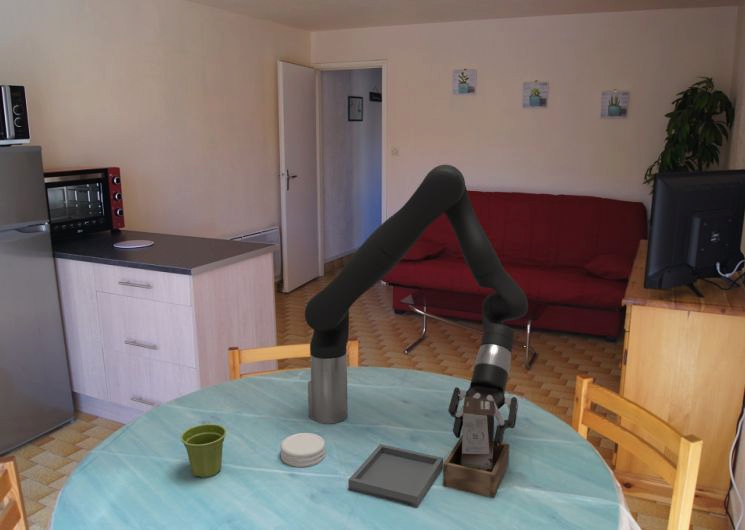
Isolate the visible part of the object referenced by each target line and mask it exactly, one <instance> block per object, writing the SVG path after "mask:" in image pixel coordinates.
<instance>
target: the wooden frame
mask: <svg viewBox="0 0 745 530" xmlns="http://www.w3.org/2000/svg"><path fill="white" fill-rule="evenodd" d="M509 460H510V443H507V442H502V443H501V444H499V446H495V445H494V440H493V461H492V465H493V464H494V467H493V468H492V472H488V471H483V470H479V469H474V468H470V467H465V466H461V465H462V435H460V438H458V439H457V442H456V444H455V445H454V447H453V448H452V450H451V452H450V453H449V454H448V456H447V458H446V459H445V460H444V461H443V468H442V486H443V487H447V488H451V489H454V490H460V491H462V492H463V491H464V492H468V493H472V494H475V495H480V496H484V497H488V498H492V499H495V497H496V494H497V491H498V489H499V487H500V485H501V483H502V480H503V479H504V475H505V473H506V471H507V470H508V467H509V465H510V464H509Z"/></svg>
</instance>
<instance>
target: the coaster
mask: <svg viewBox="0 0 745 530" xmlns="http://www.w3.org/2000/svg"><path fill="white" fill-rule="evenodd" d="M325 441H326V440H325V439H324V438H323V437H321V436H320V435H319V434H317V433H316V434H315V433H311V432H301V433H294V434H291V435H289V436H287V437H285V439H283V440H282V441H281V443H280V457H281V460H282V462H284V463H285V464H286V465H288V466H291V467H296V468H305V467H307V468H308V467H311V466H312V467H313V466H314V465H317V464H319V463H320V462H322V461H323V460H324V459H325V457H326V442H325Z"/></svg>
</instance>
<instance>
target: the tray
mask: <svg viewBox="0 0 745 530" xmlns="http://www.w3.org/2000/svg"><path fill="white" fill-rule="evenodd" d="M443 464H444V457H441V456H437V455H433V454H432V455H431V454H428V453H423V452H417V451H413V450H409V449H404V448H399V447H397V446H391V445H387V444H383V443H379V444H378V445H377V447H376V448H375V449H374V450H373V451H372V453H371V454H369V456H368V457H367V458H366V459H365V460H364V462H363V463H362V464H361V465H360V466H359V467H358V468H357V469H356V470H355V472H354V473H353V474H352V475H351V476H350V477H349V478H348V490H349V491H352V492H355V493H360V494H364V495H368V496H371V497H375V498H379V499H382V500H383V499H384V500H385V501H386V500H387V501H391V502H394V503H399V504H403V505H407V506H410V507H414V508H418V507H419V506H420V504H421V503H422V501H423V500H424V498H425V496H426V495H427V494H428V492H429V490H430V489H431V487H432V486H433V484H434V482H435V481H436V479H437V477H438V476H439V474H440V473H441V471H443Z"/></svg>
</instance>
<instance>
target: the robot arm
mask: <svg viewBox="0 0 745 530" xmlns="http://www.w3.org/2000/svg"><path fill="white" fill-rule="evenodd" d="M443 214H444V215H445V216H446V218H447V220H448V222H449V223H450V225H451V228H452V230H453V232H454V235H455V237H456V239H457V242H458V245H459V248H460V250H461V254H462V255H463V259H464V260H465V262H466V265H467V267H468V269H469V272H471V275H472V277H473V278H474V280H475V282H476V284H477V286H479V287H480V288H483V289H492V290H493V291H494V292H493V293H490V294H488V295H487V296H486V297H485V298H484V300H483V303H482V306H481V312H482V316H481V317H482V328H483V330H482V331H483V333H482V337H481V340H480V341H481V342H480V346H479V350H478V352H477V354H476V359H475V363H474V367H473V371H472V375H471V380H470V384H469V385H470V386H469V388H468V389H467V390H463V389H460V388H459V387H458V386H457V387H454V389H453V391H452V392H453V393H452V395H451V399H450V403H449V405H448V410H447V411H448V413H449V415H450V417H451V418H454V423H453V427H452V433H453V435H454V437H455V438H457V439H460V437H461V435H462V434H461V433H462V428H463V408H464V404H463V405H462V407H461V408H460V409H459V410H458V408H459V405H460V402H461V401H462V400H464V398H465V396H469V397H472V398H478V399H479V398H481V397H486V398H487V400H490V401H494V419H495V420H496V421H497V424H498V425H496V428H495V432H494V433H495V435H494V440H493V441H494V445H495V446H499V444H501V443H503V441H504V435H505V431H506V429H515V427H516V422H517V415H518V409H519V408H518V407H519V402H518V401H519V400H518V399H517V397H515V396H514V397H511V398H510V397H505V393H506V389H507V383H508V380H509V379H508V378H509V374H510V370H511V369H510V368H511V363H512V362H511V358H512V352H513V351H512V350H513V348H514V347H513V346H514V341H515V333H514V330H513V329H512V328H511V327H510V326H508V325H506V324H504V322H506V321H513V320H518V319H520V318H523V317H525V315H526V314H527V312H528V310H529V302H528V298H527V295H526V293H525V292H524V290H523V289H522V287H520V285H519V284H518V283H517V282H516V281H515V280H514V279H513V278H512V276H511V275H510V274H509V273H508V272H507V271H506V270H505V269H504V267H503V265H502V263H501V261H500V259H499V257H498V254H497V252H496V251H495V249H494V247H493V245H492V243H491V241H490V240H489V238H488V236H487V234H486V232H485V230H484V229H483V227H482V225H481V223H480V221H479V219H478V217H477V215H476V211H475V210H474V207H473V205H472V202H471V199H470V196H469V192H468V189H467V186H466V180H465V177H464V175H463V173H462V172H461V171H460V170H459V168H457V167H455V166H453V165H451V164H441V165H437V166H436V167H434V168H433V169H431V170H430V171H429V172H428V173H427V174H426V176H424V179H423V180H422V182H421V183H420V184H419V186H418V187H417V189H416V190H415V191H414V192H413V194H412V195H411V196H410V198H409V199H408V200H407V201H406V202H405V203H404V205H403V206H402V207H401V208H400V209H399V210H398V211H396V212H395V213H394V214H393V215H391V216H390V217H388V218H387V219H386V220H385V221H384V222H383V223H382V224H381V225H379V226H378V227H377V228H376V229H375V230H374V231H373V232H371V234H370V235H369V236H368V238H366V240H365V241H364V242H363V243H362V244H361V245H360V247H359V248H358V249H357V250H356V251H355V252H354V254H353V255H352V256H351V257H350V259H349V260H348V261H347V262H346V263H345V265H344V267H343V268H342V270H341V271H340V272H339V273H338V275H337V276H336V277H334V278H333V280H332V281H331V282H330V283H328V284H327V285H326V286H325V287H324V288H323V289H321V290H320V291H319V292H317V293H316V294H315V295H314V296H312V297H311V298H310V299H309V300H308V302H307V304H306V306H305V310H304V318H305V322H306V325H308V327H309V328H311V329H312V330H313V334H312V337H311V340H310V343H309V357H310V358H309V360H310V380H309V381H308V382H307V399H308V400H307V401H308V408H307V409H308V417H309V418H311V419H313V421H315V422H318V423H321V424H336V423H340V422H343V421H344V420H346V419H347V418H348V416H349V415H348V411H349V409H348V408H349V407H348V361H347V360H348V355H347V354H348V352H347V351H348V350H347V349H348V348H347V346H348V342H349V332H350V310H349V309H350V308H351V307H352V306H353V305H354V304H355V302H356V301H357V300H358V299H359V298H360V297H361V296H363V295H364V294H365V293H366V292H367V291H369V290H370V289H372V288H373V287H374V286H375V285H377V283H379V282H380V281H381V280H382V279H383V278H384V277H385V276H386V275H388V274H389V273H390V272H391V271H392V270H393V269H394V268H395V267H396V266H397V265H398V263H400V261H402V260H403V259H404V258H405V256H406V255H407V254H408V253H409V251H410V250H411V249H412V247H414V245H415V244H416V243H417V241H418V240H419V239H420V237H421V235H422V234H423V233H424V232H425V231H426V230H427V229H428V227H430V225H432V223H434V222H435V221H436V220H438V219H439V218H440V217H441V216H442V215H443ZM505 404H506V407H507V409H508V418H507V419H504V418H503V416H502V415H501V412H500V409H501V408H502V407H503V406H504V405H505Z"/></svg>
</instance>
